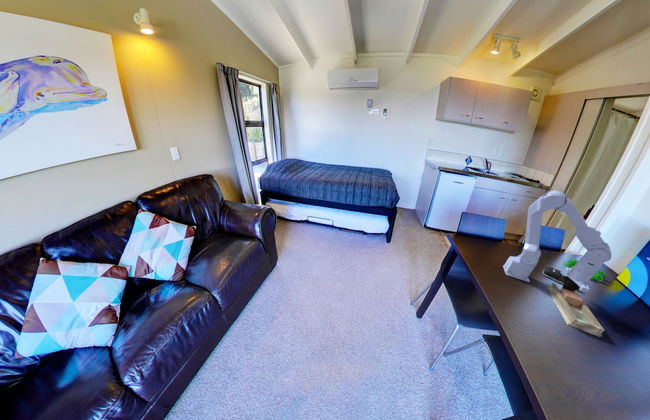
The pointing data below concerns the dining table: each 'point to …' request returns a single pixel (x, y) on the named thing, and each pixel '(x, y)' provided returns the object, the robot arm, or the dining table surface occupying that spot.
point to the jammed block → (571, 297)
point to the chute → (576, 313)
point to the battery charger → (554, 274)
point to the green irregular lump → (595, 277)
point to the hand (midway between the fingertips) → (564, 292)
